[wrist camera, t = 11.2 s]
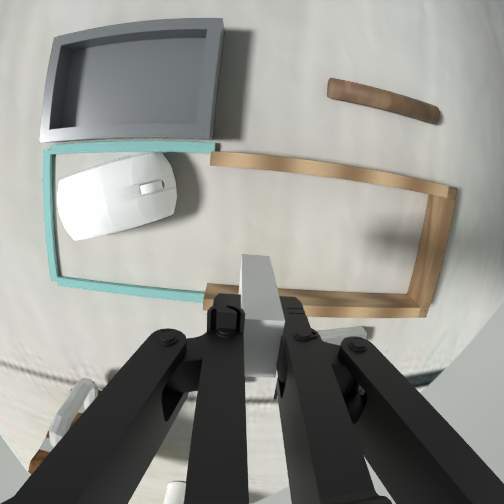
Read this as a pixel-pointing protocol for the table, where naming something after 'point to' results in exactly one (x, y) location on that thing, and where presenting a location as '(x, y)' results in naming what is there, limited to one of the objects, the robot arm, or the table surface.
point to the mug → (66, 418)
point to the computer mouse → (117, 195)
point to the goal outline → (49, 224)
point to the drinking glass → (175, 493)
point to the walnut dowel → (382, 100)
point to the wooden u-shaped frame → (362, 303)
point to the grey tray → (134, 81)
